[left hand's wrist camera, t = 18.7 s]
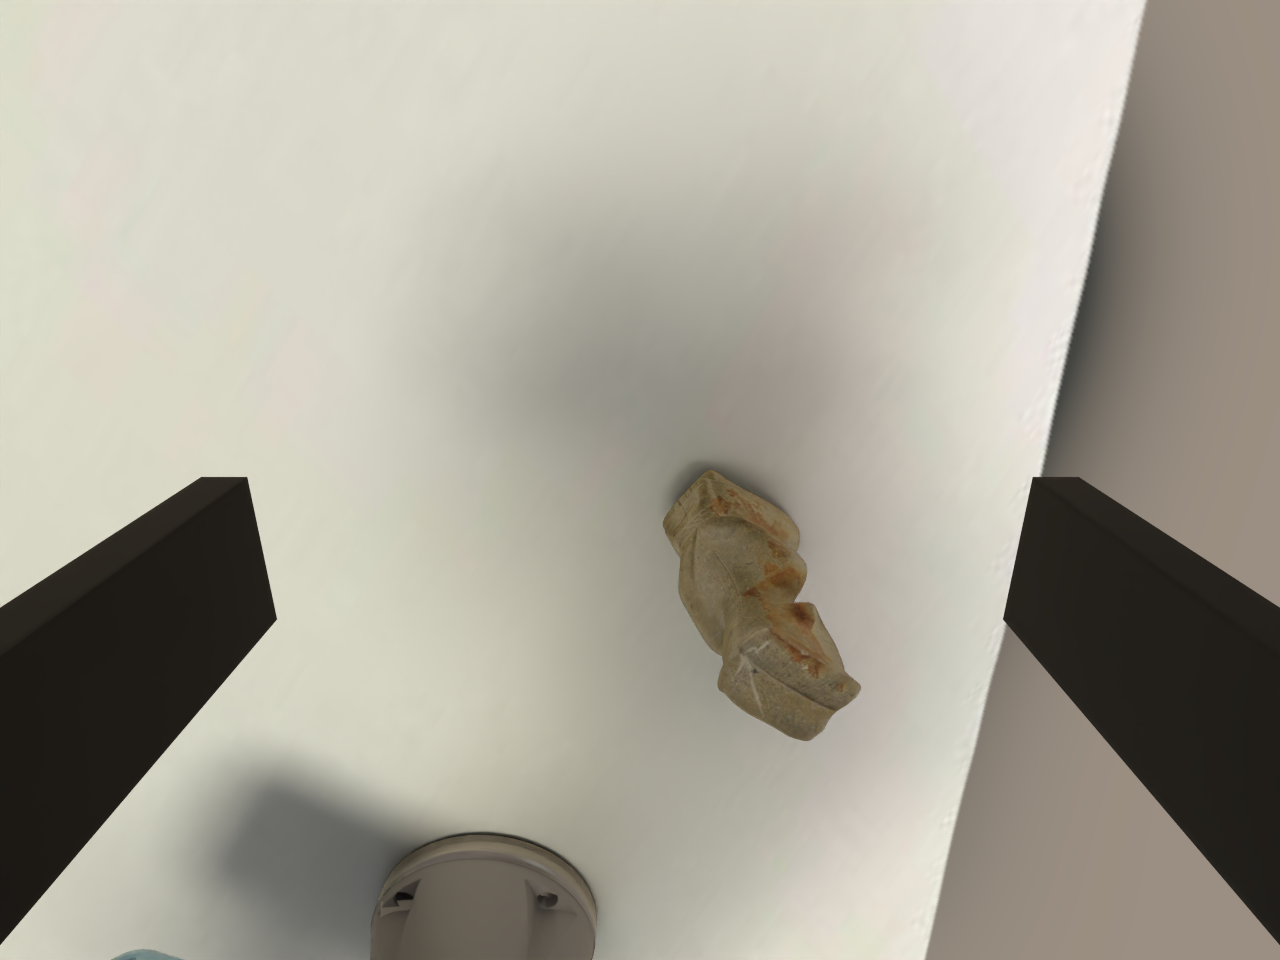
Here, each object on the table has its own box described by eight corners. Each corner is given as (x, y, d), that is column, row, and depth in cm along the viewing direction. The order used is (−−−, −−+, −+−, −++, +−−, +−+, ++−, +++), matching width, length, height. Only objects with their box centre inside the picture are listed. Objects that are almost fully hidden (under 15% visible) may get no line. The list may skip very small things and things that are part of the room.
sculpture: (739, 587, 42) (788, 783, 28) (643, 513, 41) (646, 682, 27) (811, 517, 41) (901, 688, 27) (715, 437, 39) (757, 574, 25)
